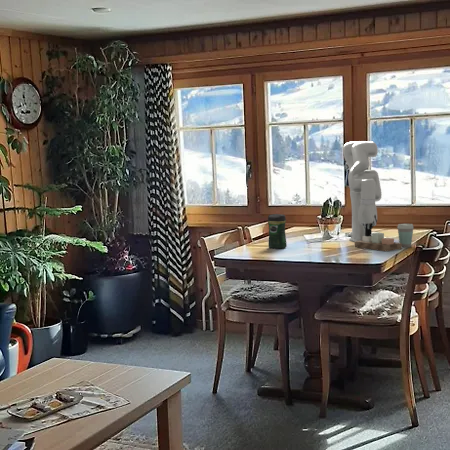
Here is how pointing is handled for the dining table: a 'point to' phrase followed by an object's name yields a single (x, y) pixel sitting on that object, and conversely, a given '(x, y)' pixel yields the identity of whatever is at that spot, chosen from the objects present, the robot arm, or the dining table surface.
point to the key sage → (377, 237)
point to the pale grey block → (367, 238)
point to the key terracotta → (388, 241)
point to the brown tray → (378, 246)
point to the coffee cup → (405, 234)
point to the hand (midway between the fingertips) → (368, 236)
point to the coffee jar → (277, 231)
